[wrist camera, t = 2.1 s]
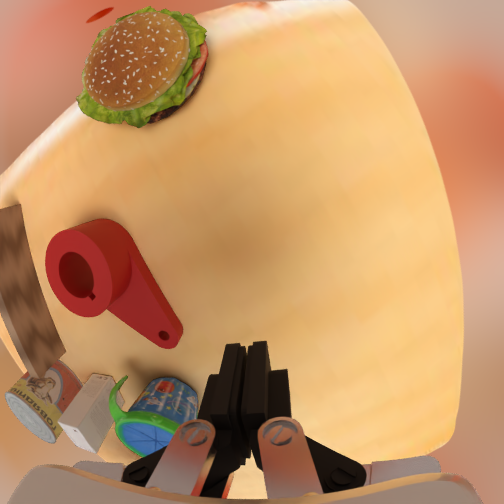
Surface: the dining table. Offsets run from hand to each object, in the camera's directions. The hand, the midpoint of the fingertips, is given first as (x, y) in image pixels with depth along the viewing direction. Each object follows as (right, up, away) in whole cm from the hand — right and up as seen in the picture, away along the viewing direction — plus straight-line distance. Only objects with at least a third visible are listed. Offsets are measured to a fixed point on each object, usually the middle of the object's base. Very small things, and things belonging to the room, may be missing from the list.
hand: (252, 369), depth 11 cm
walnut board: (-33, 0, +21) cm, 39 cm away
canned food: (-35, -18, +26) cm, 47 cm away
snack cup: (-11, -15, +24) cm, 31 cm away
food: (-11, +25, +13) cm, 30 cm away
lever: (-15, +1, +20) cm, 25 cm away
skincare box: (-23, -17, +25) cm, 38 cm away
